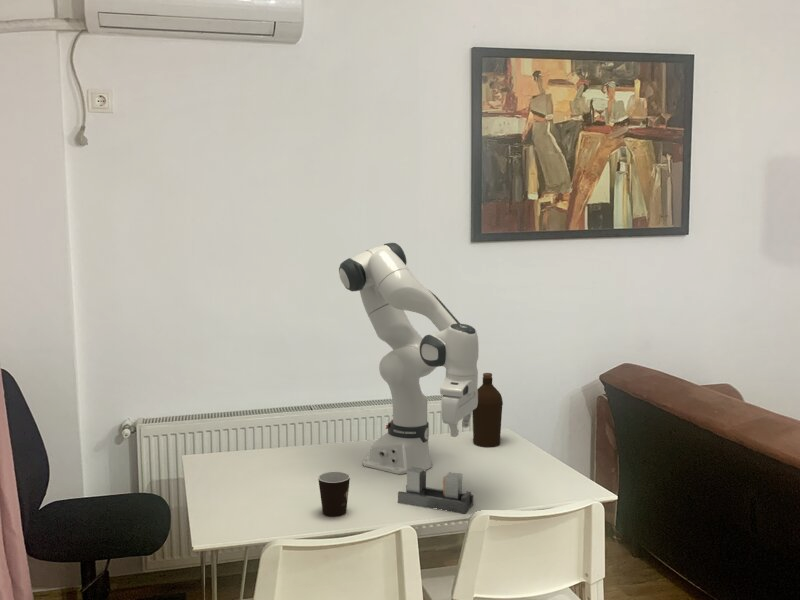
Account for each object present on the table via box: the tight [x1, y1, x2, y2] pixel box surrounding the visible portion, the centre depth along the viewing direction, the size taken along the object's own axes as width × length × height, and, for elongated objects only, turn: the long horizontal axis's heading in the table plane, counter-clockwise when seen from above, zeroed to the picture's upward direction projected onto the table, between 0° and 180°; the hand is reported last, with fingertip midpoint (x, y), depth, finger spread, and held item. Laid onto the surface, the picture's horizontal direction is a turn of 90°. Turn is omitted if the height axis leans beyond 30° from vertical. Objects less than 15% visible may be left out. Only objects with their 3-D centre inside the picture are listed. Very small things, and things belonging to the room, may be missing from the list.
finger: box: [442, 471, 463, 501], centre depth 213 cm, size 4×4×8 cm
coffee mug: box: [317, 471, 351, 518], centre depth 210 cm, size 12×9×10 cm
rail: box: [397, 467, 474, 515], centre depth 215 cm, size 20×7×9 cm, turn 67°
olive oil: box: [472, 372, 504, 448], centre depth 269 cm, size 11×11×25 cm
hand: (460, 431), depth 214 cm, fingers open, 8 cm apart
